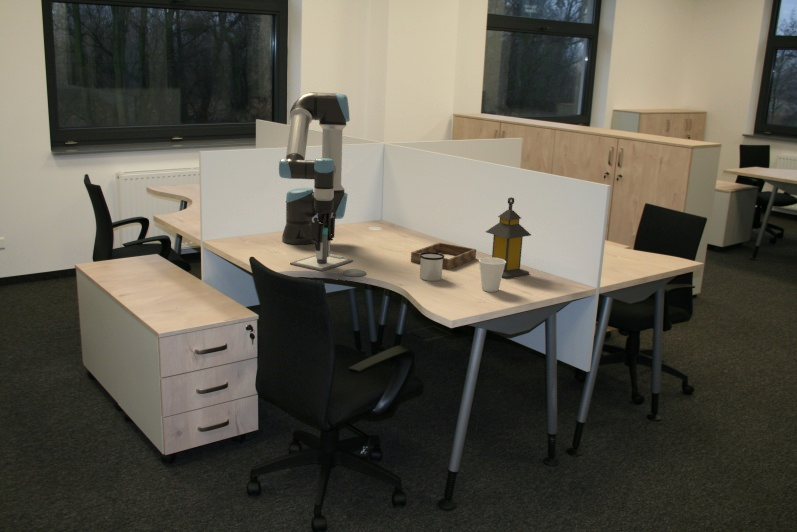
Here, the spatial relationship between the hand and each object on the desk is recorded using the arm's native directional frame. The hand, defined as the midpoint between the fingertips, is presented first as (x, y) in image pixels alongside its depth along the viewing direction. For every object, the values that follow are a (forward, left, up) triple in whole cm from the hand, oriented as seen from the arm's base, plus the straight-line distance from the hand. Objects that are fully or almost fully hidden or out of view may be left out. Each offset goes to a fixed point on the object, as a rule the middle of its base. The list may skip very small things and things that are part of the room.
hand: (322, 257), depth 294 cm
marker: (0, 0, -2) cm, 2 cm away
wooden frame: (-39, +33, -3) cm, 51 cm away
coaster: (+2, +17, -3) cm, 17 cm away
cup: (-13, +67, -3) cm, 68 cm away
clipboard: (-2, -2, -3) cm, 4 cm away
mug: (-13, +42, -3) cm, 45 cm away
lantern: (-39, +61, -3) cm, 72 cm away
